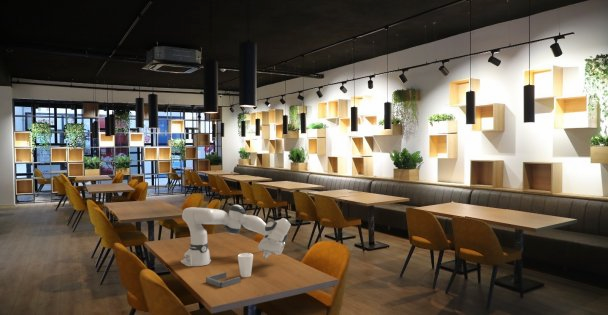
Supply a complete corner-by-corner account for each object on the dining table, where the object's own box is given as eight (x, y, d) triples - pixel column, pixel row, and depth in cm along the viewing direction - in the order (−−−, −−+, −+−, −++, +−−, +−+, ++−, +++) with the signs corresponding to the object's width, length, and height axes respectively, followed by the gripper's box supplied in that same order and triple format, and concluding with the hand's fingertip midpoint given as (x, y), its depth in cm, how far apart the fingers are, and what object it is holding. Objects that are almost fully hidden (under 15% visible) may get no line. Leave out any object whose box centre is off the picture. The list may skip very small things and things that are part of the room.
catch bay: (206, 282, 247) (206, 277, 247) (225, 276, 257) (225, 272, 257) (220, 287, 237) (220, 282, 237) (240, 282, 247) (240, 277, 247)
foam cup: (242, 278, 253) (242, 257, 253) (235, 275, 260) (235, 254, 260) (256, 276, 258) (255, 255, 258) (248, 272, 266) (248, 252, 266)
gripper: (288, 245, 271) (278, 263, 265) (267, 240, 285) (257, 257, 279) (283, 239, 268) (272, 257, 261) (262, 235, 282) (251, 252, 275)
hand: (264, 257), depth 270 cm, fingers closed
